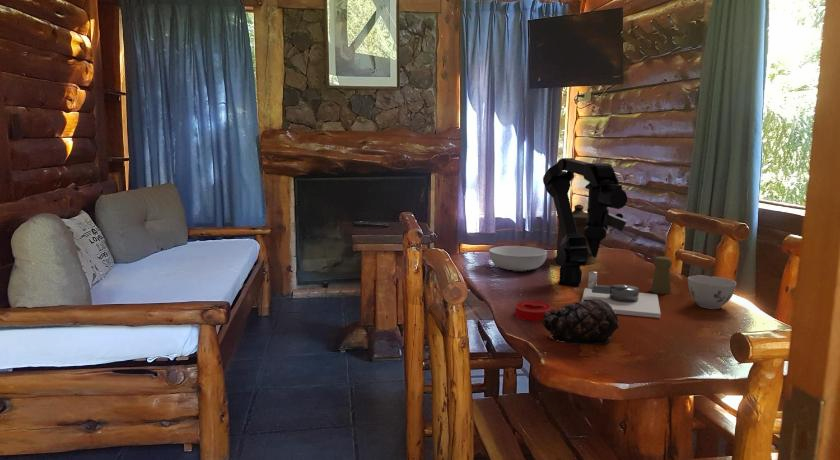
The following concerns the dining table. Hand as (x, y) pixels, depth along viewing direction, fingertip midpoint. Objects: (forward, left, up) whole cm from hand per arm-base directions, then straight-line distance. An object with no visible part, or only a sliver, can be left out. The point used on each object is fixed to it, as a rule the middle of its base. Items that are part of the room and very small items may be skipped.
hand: (595, 255), depth 184 cm
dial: (+6, -7, -11) cm, 14 cm away
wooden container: (-9, +49, -12) cm, 51 cm away
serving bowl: (-28, +27, -12) cm, 41 cm away
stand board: (+8, -8, -12) cm, 17 cm away
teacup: (+32, -1, -12) cm, 34 cm away
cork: (+20, +11, -12) cm, 26 cm away
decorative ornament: (-14, -29, -12) cm, 35 cm away
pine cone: (-1, -44, -12) cm, 46 cm away
